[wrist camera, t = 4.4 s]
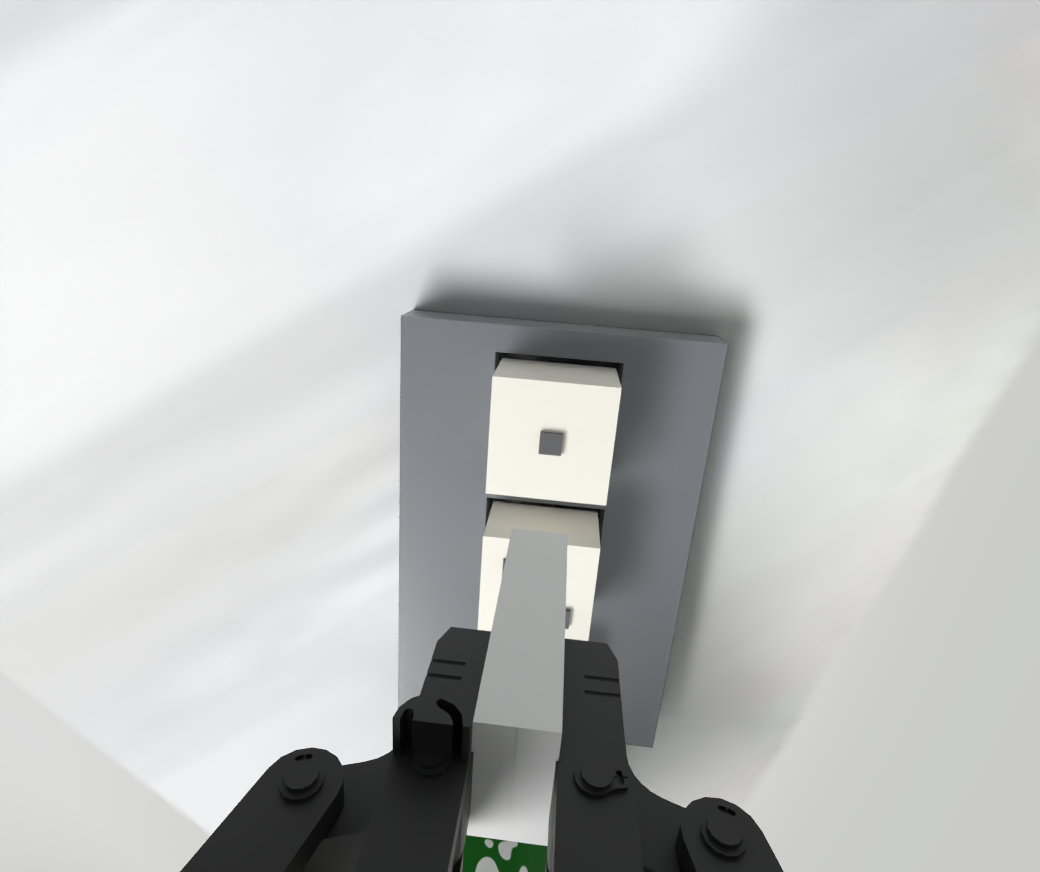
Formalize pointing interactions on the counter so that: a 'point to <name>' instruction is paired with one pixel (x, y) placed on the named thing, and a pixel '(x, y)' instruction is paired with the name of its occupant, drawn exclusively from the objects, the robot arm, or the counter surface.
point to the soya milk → (502, 856)
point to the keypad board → (623, 521)
